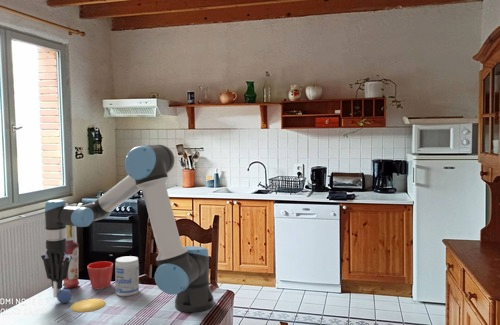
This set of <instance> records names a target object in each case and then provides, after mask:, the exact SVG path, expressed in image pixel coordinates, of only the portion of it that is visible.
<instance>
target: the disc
mask: <svg viewBox="0 0 500 325" xmlns="http://www.w3.org/2000/svg"><path fill="white" fill-rule="evenodd" d="M106 304H107V303H106V301H105V299H100V298H87V299H82V300H79V301H76V302H74V303H72V304H71V305H70V310H71V311H73V312H77V313H88V312H94V311H97V310H99V309H101V308H103V307H105V306H106Z"/></svg>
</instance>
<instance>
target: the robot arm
mask: <svg viewBox="0 0 500 325" xmlns="http://www.w3.org/2000/svg"><path fill="white" fill-rule="evenodd" d="M175 160H176V159H175V154H174V152H173V151H172V150H171V149H170V148H169V147H167V146H166V145H163V144H149V145H147V144H143V145H139V146H135V147H133V148H132V149H130V150H129V151H128V152H127V154H126V157H125V160H124V169H125V171H126V173H127V175H126V176H125V177H124V178H123V179H121V180H120V181H119V182H117V183H116V184H115V185H114V186H112V188H109V189H108V190H107V191H106V192H105V193H104V194H102V195H101V196H100V197H98V198H97V199H96V200H94V201H93V202H90V203H86V204H82V205H78V206H74V205H73V206H69V205H67V204H66V200H64V199H50V200H47V201H45V203H44V204H45V205H44V207H45V208H44V218H45V219H44V220H45V222H44V223H45V239H46V240H45V248H46V252H45V253H44V254H42V255H40V256H41V259H42V261H43V265H44V268H45V269H44V270H45V273H46V274H45V275H46V278H47V279H48V280H51V287H52V290H53V298H56V299H57V295H58V293H59V292H60V291H61V290H62V288H63V281H64V279H66V278H67V274H68V269H69V263H70V261H71V259H72V257H71V256H68V255H67V252H66V250H65V249H66V233H67V231H66V225H69V226H72V227H78V228H85V227H86V228H87V227H90V225H91V224H92V223H93V222H96V221H99V220H104V219H106V218H108V217H109V216H111V214H112V211H114V210H115V209H117V207H119V206H120V205H121V204H123V203H125V202H126V201H127V200H128V199H130V198H132V196H134V195H136V193H138V192H139V191H140V190H141V191H142V195H143V199H144V204H145V206H146V209H147V213H148V218H149V222H150V225H151V230H152V233H153V237H154V240H155V241H154V242H155V244H156V247H157V251H158V255H157V257H156V258H155V262H156V264H157V268H156V269H155V270H156V271H155V272H154V281H155V282H154V283H155V285H156V286H157V287H158V289H159V290H160V291H162V292H163V293H165V294H167V295H175V298H174V307H175V309H176V310H177V311H180V312H185V313H199V312H200V313H201V312H204V311H207V310H209V309H211V308H212V307H214V305H215V303H214V296H213V293H212V290H211V286H210V270H209V268H210V267H209V264H210V263H209V262H210V256H209V255H210V254H209V249H208V248H206V247H204V246H198V245H197V246H196V245H195V246H194V245H192V246H191V245H189V246H188V245H186V246H183V245H182V242H181V238H180V233H179V230H178V227H177V223H176V220H175V219H176V218H175V215H174V211H173V207H172V205H171V204H172V203H171V200H170V196H169V193H168V189H167V185H166V182H167V181H168V179H169V177H168V174H169V173H170V172H171V171H172V169H173V168H174V166H175ZM63 259H64V262H63Z"/></svg>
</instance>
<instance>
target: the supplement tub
mask: <svg viewBox="0 0 500 325" xmlns="http://www.w3.org/2000/svg"><path fill="white" fill-rule="evenodd" d="M139 263H140V262H139V257H138V256H132V255H129V256H127V255H126V256H120V257H117V258H115V263H114V264H115V266H114V268H115V272H114V273H115V276H114V277H115V282H114V283H115V294H116V295H118V296H120V297H129V296H133V295H136V294H138V292H139V291H140V290H139V289H140V280H139V279H140V278H139V276H140V275H139V274H140V271H139Z"/></svg>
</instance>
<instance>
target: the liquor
mask: <svg viewBox="0 0 500 325" xmlns="http://www.w3.org/2000/svg"><path fill="white" fill-rule="evenodd" d="M65 238H66V249H65V250H66V252H67V255H68V256H71V257H72V259H71V261H70V263H69V269H68V274H67V278H66V279H64V280H63V283H62V287H64V289H68V290H70V289H75V288H77V287H78V286H79V285H80V282H79V248H80V247H79V243H78V242H76V241H74V238H73V226H69V225H66V237H65ZM63 262H64V259H63Z"/></svg>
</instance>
